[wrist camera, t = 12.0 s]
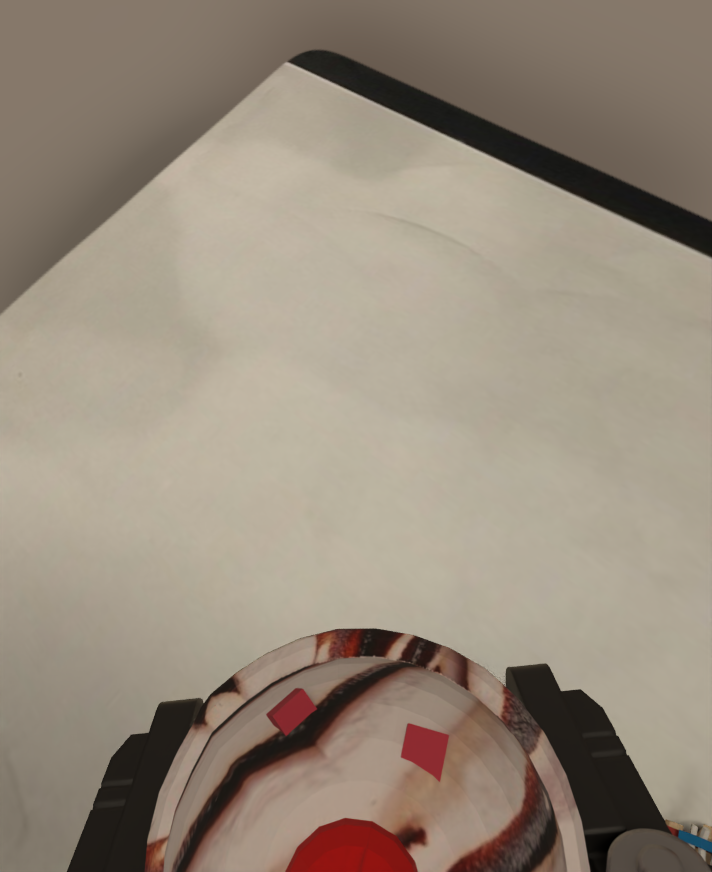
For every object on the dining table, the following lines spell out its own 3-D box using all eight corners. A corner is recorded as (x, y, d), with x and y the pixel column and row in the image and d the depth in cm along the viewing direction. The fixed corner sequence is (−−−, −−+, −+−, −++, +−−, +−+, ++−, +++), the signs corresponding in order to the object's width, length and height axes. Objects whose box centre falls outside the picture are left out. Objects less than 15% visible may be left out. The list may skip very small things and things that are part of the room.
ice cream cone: (304, 674, 20) (163, 494, 7) (492, 728, 20) (745, 646, 6) (240, 891, 18) (-165, 1265, 5) (451, 964, 17) (716, 1680, 4)
